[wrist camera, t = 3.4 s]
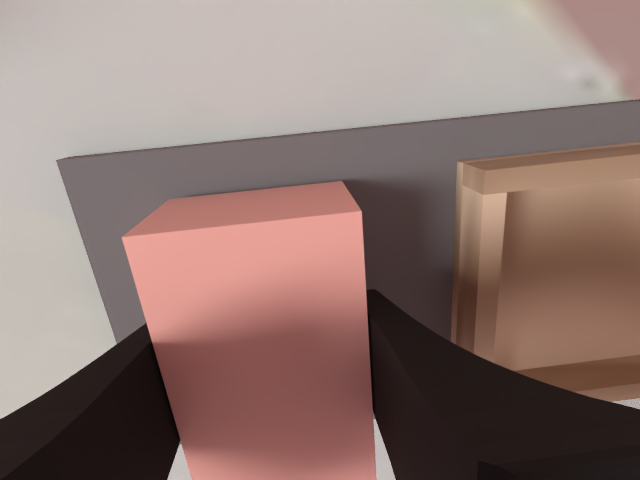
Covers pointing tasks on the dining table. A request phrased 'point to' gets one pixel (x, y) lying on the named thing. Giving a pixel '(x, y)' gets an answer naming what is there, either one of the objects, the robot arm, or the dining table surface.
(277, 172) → the mat
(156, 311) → the card deck
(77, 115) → the dining table surface
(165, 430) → the robot arm
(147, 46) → the dining table surface
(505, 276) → the tray
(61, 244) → the dining table surface
